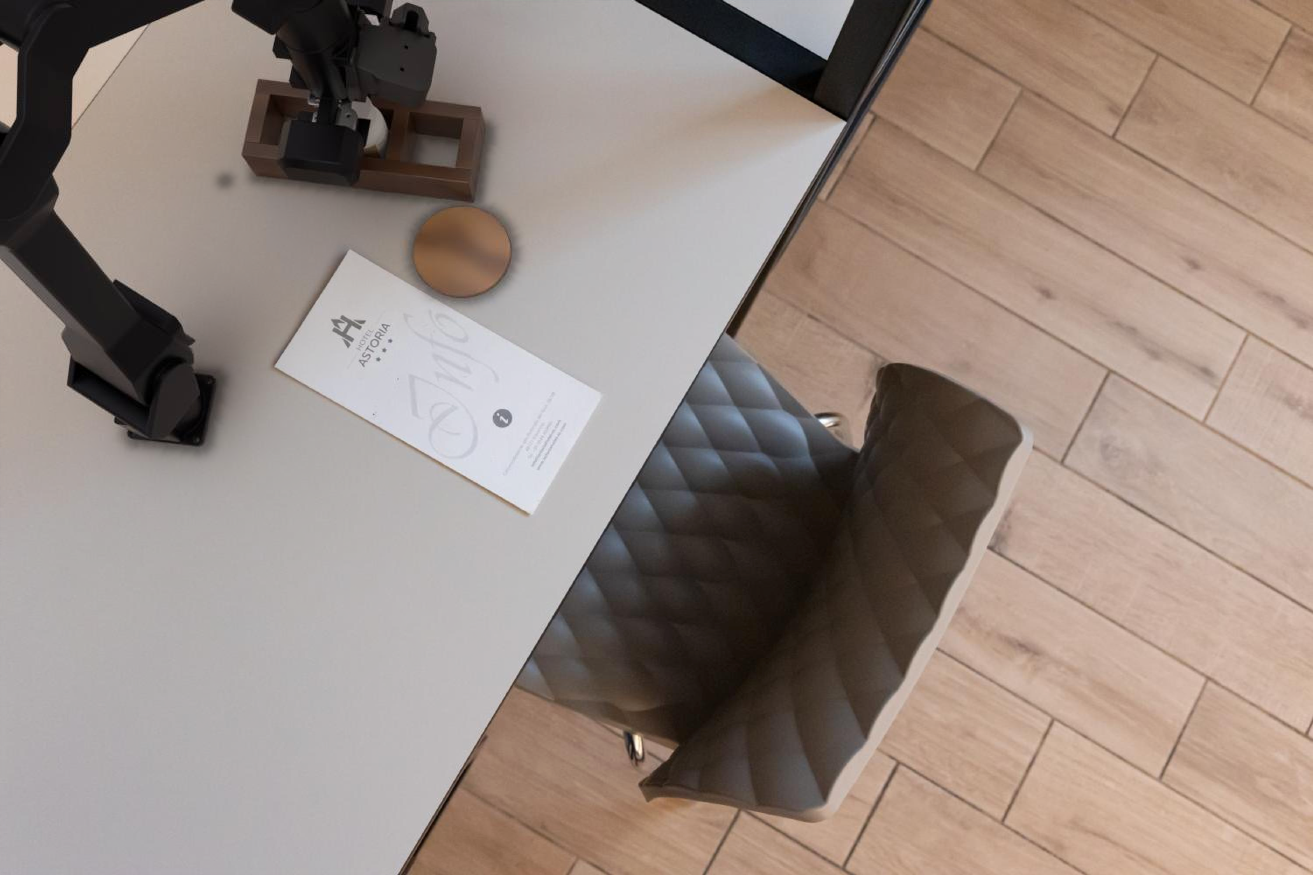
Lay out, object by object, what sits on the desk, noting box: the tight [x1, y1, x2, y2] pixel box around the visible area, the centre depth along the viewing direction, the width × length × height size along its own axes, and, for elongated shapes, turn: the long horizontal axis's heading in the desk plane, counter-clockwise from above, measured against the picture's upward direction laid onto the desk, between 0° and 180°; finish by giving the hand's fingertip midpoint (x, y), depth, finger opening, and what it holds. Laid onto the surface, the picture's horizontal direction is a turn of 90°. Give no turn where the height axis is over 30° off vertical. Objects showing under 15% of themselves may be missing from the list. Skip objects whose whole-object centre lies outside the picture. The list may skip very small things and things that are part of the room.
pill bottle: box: [339, 97, 390, 159], centre depth 90 cm, size 4×4×8 cm
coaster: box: [412, 205, 512, 298], centre depth 92 cm, size 9×9×1 cm
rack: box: [240, 78, 487, 203], centre depth 92 cm, size 8×21×4 cm, turn 84°
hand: (360, 127), depth 89 cm, fingers closed on pill bottle, 4 cm apart
